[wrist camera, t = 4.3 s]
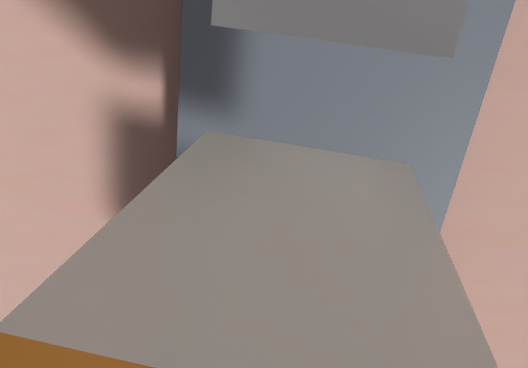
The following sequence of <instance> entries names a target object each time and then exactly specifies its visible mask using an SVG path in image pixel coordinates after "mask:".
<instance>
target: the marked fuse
mask: <svg viewBox="0 0 528 368" xmlns="http://www.w3.org/2000/svg"><path fill="white" fill-rule="evenodd" d="M0 368H498V366H497V364H496V361H495V359H494V357H493V354H492V352H491V350H490V348H489V345H488V343H487V341H486V338H485V336H484V334H483V331H482V329H481V327H480V325H479V322H478V320H477V318H476V315H475V313H474V311H473V308H472V306H471V304H470V301H469V299H468V297H467V295H466V292H465V290H464V288H463V285H462V283H461V281H460V278H459V276H458V274H457V272H456V269H455V267H454V265H453V262H452V260H451V258H450V255H449V253H448V251H447V249H446V246H445V244H444V242H443V239H442V237H441V235H440V232H439V230H438V228H437V225H436V223H435V221H434V219H433V216H432V214H431V212H430V209H429V207H428V205H427V202H426V200H425V198H424V196H423V193H422V191H421V189H420V186H419V184H418V182H417V179H416V177H415V175H414V172H413V170H412V168H411V166H410V164H407V163H401V162H395V161H389V160H383V159H377V158H371V157H365V156H359V155H352V154H346V153H340V152H334V151H328V150H322V149H316V148H310V147H304V146H298V145H292V144H286V143H280V142H274V141H268V140H261V139H255V138H249V137H243V136H237V135H231V134H225V133H219V132H213V131H206V132H205V133H204V134H203V135H202V136H201V137H200V138H199V139H198V140H196V141H195V142H194V143H193V144H192V145H191V146H190V147H189V148H188V149H187V150H186V151H185V152H184V153H182V154H181V155H180V156H179V157H178V158H177V159H176V160H175V161H174V162H173V163H172V164H171V165H169V166H168V167H167V168H166V169H165V170H164V171H163V172H162V173H161V174H160V175H159V176H158V177H157V178H155V179H154V180H153V181H152V182H151V183H150V184H149V185H148V186H147V187H146V188H145V189H144V190H143V191H141V192H140V193H139V194H138V195H137V196H136V197H135V198H134V199H133V200H132V201H131V202H130V203H128V204H127V205H126V206H125V207H124V208H123V209H122V210H121V211H120V212H119V213H118V214H117V215H116V216H114V217H113V218H112V219H111V220H110V221H109V222H108V223H107V224H106V225H105V226H104V227H103V228H102V229H100V230H99V231H98V232H97V233H96V234H95V235H94V236H93V237H92V238H91V239H90V240H89V241H87V242H86V243H85V244H84V245H83V246H82V247H81V248H80V249H79V250H78V251H77V252H76V253H75V254H73V255H72V256H71V257H70V258H69V259H68V260H67V261H66V262H65V263H64V264H63V265H62V266H60V267H59V268H58V269H57V270H56V271H55V272H54V273H53V274H52V275H51V276H50V277H49V278H48V279H46V280H45V281H44V282H43V283H42V284H41V285H40V286H39V287H38V288H37V289H36V290H35V291H34V292H32V293H31V294H30V295H29V296H28V297H27V298H26V299H25V300H24V301H23V302H22V303H21V304H19V305H18V306H17V307H16V308H15V309H14V310H13V311H12V312H11V313H10V314H9V315H8V316H7V317H5V318H4V319H3V320H2V321H1V322H0Z"/></svg>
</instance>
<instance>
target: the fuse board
mask: <svg viewBox="0 0 528 368" xmlns="http://www.w3.org/2000/svg"><path fill="white" fill-rule="evenodd" d="M514 3H515V0H470V1H469V4H468V8H467V11H466V15H465V18H464V22H463V25H462V29H461V32H460V36H459V39H458V43H457V46H456V50H455V53H454V57H453V59H451V58H444V57H437V56H430V55H423V54H415V53H408V52H401V51H394V50H386V49H379V48H372V47H365V46H358V45H350V44H343V43H336V42H329V41H321V40H314V39H307V38H300V37H293V36H285V35H278V34H271V33H264V32H256V31H249V30H242V29H235V28H228V27H220V26H213V25H211V15H212V0H182V16H181V42H180V69H179V95H178V122H177V148H176V159H177V158H178V157H179V156H180V155H181V154H182V153H184V152H185V151H186V150H187V149H188V148H189V147H190V146H191V145H192V144H193V143H194V142H195V141H196V140H198V139H199V138H200V137H201V136H202V135H203V134H204V133H205V132H206V131H213V132H219V133H225V134H231V135H237V136H243V137H249V138H255V139H261V140H268V141H274V142H280V143H286V144H292V145H298V146H304V147H310V148H316V149H322V150H328V151H334V152H340V153H346V154H352V155H359V156H365V157H371V158H377V159H383V160H389V161H395V162H401V163H407V164H410V166H411V168H412V170H413V172H414V175H415V177H416V179H417V182H418V184H419V186H420V189H421V191H422V193H423V196H424V198H425V200H426V202H427V205H428V207H429V209H430V212H431V214H432V216H433V219H434V221H435V223H436V225H437V228H438V230H439V232H440V230H441V227H442V224H443V221H444V217H445V214H446V211H447V208H448V205H449V202H450V199H451V196H452V193H453V190H454V187H455V184H456V181H457V178H458V175H459V171H460V168H461V165H462V162H463V159H464V156H465V153H466V150H467V147H468V144H469V141H470V138H471V135H472V132H473V129H474V125H475V122H476V119H477V116H478V113H479V110H480V107H481V104H482V101H483V98H484V95H485V92H486V89H487V86H488V83H489V79H490V76H491V73H492V70H493V67H494V64H495V61H496V58H497V55H498V52H499V49H500V46H501V43H502V40H503V37H504V33H505V30H506V27H507V24H508V21H509V18H510V15H511V12H512V9H513V6H514Z"/></svg>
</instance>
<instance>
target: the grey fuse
mask: <svg viewBox="0 0 528 368" xmlns="http://www.w3.org/2000/svg"><path fill="white" fill-rule="evenodd" d="M469 1H470V0H212V15H211V25H213V26H220V27H228V28H235V29H242V30H249V31H256V32H264V33H271V34H278V35H285V36H293V37H300V38H307V39H314V40H321V41H329V42H336V43H343V44H350V45H358V46H365V47H372V48H379V49H386V50H394V51H401V52H408V53H415V54H423V55H430V56H437V57H444V58H451V59H453V57H454V53H455V50H456V46H457V43H458V39H459V36H460V32H461V29H462V25H463V22H464V18H465V15H466V11H467V8H468V4H469Z"/></svg>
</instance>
